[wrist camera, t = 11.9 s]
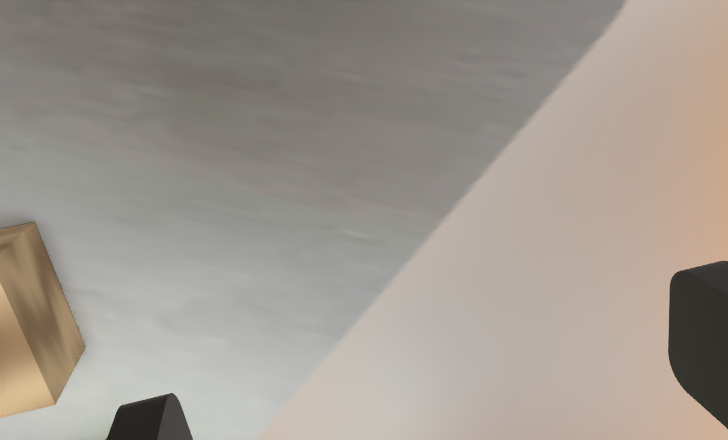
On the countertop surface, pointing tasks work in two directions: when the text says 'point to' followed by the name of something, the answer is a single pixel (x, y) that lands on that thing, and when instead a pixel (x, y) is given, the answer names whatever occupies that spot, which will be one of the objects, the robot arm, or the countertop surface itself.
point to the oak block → (32, 325)
